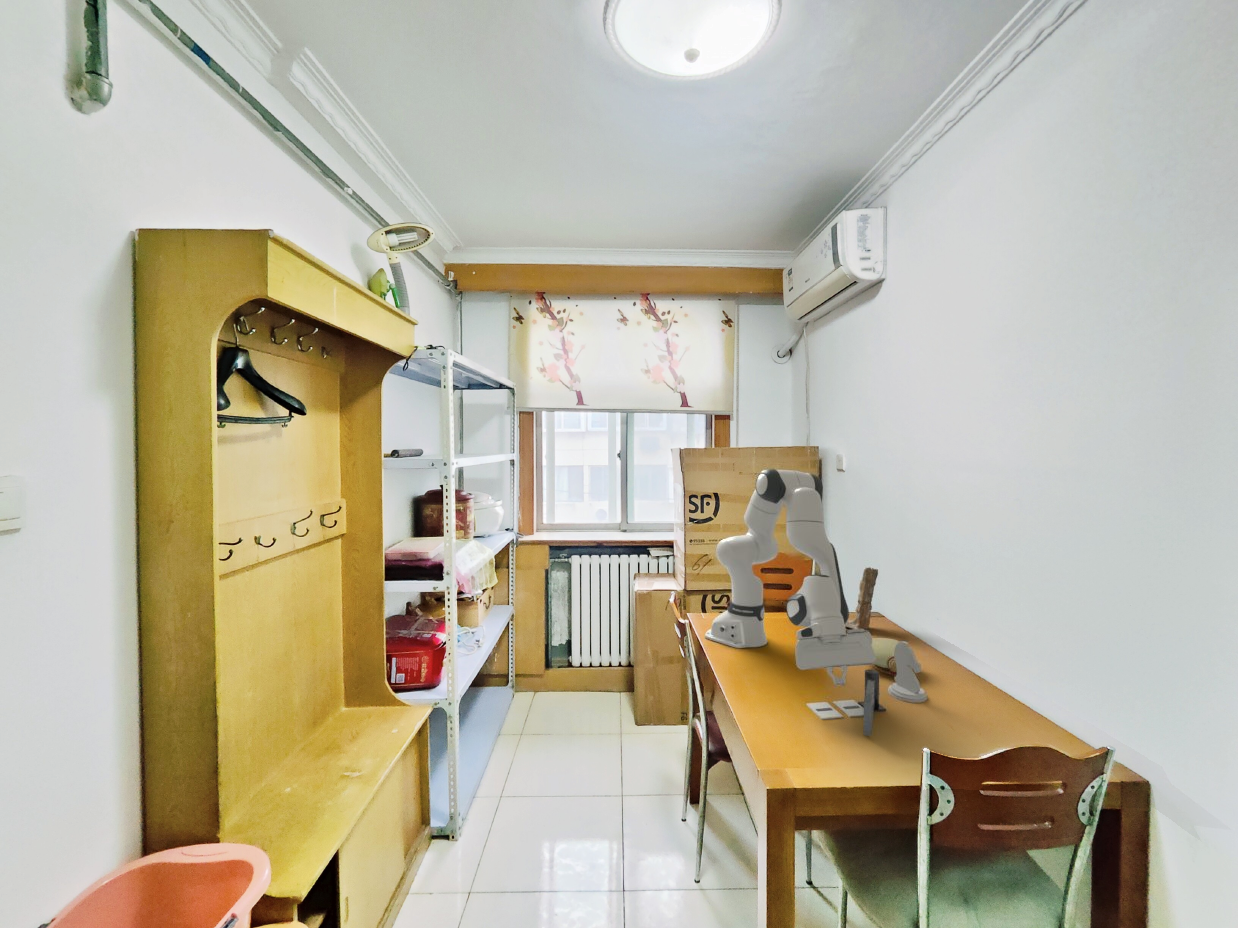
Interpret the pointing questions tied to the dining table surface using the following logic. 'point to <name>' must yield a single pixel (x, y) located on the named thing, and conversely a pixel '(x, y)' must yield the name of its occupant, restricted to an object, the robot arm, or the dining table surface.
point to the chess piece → (906, 675)
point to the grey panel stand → (870, 699)
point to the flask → (885, 654)
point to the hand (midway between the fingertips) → (840, 684)
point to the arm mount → (874, 708)
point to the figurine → (864, 600)
